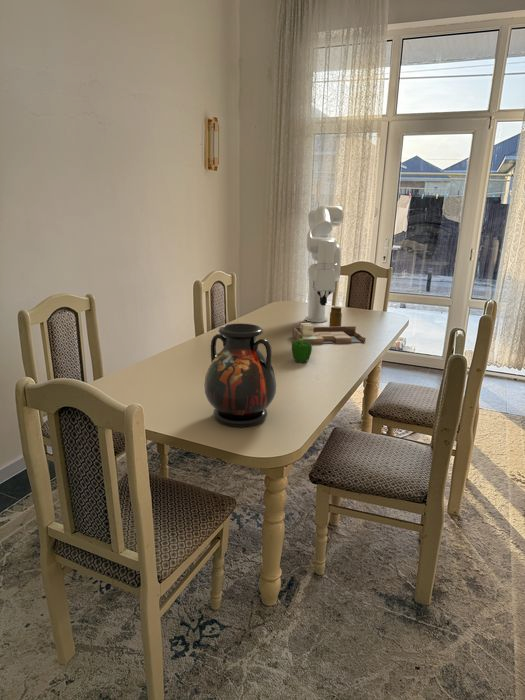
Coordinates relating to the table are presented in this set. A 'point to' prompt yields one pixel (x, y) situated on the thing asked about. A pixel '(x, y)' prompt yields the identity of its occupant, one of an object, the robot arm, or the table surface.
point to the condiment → (335, 317)
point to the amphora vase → (240, 376)
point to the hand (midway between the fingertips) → (323, 304)
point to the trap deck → (330, 335)
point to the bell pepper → (301, 350)
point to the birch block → (306, 329)
